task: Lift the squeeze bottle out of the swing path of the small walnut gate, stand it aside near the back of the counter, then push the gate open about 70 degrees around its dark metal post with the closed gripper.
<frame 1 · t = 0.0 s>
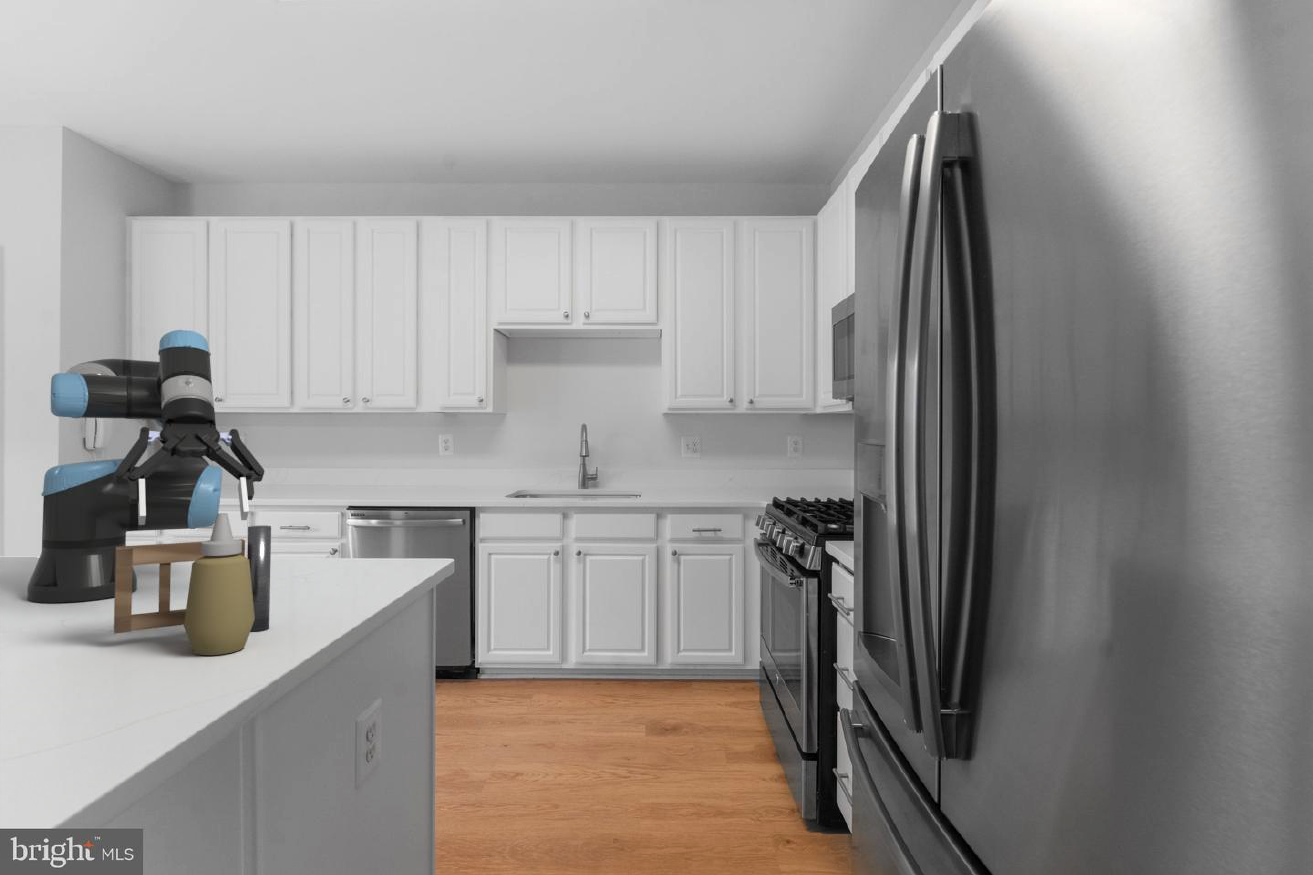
hand: (195, 518, 115), 15 cm above the counter, tool tilted 35°, fingers open, 13 cm apart
squeeze bottle: (219, 651, 98), on the counter
gate: (181, 583, 103), point 8 cm above the counter, hinge at 0.0°
gate post: (257, 629, 109), on the counter
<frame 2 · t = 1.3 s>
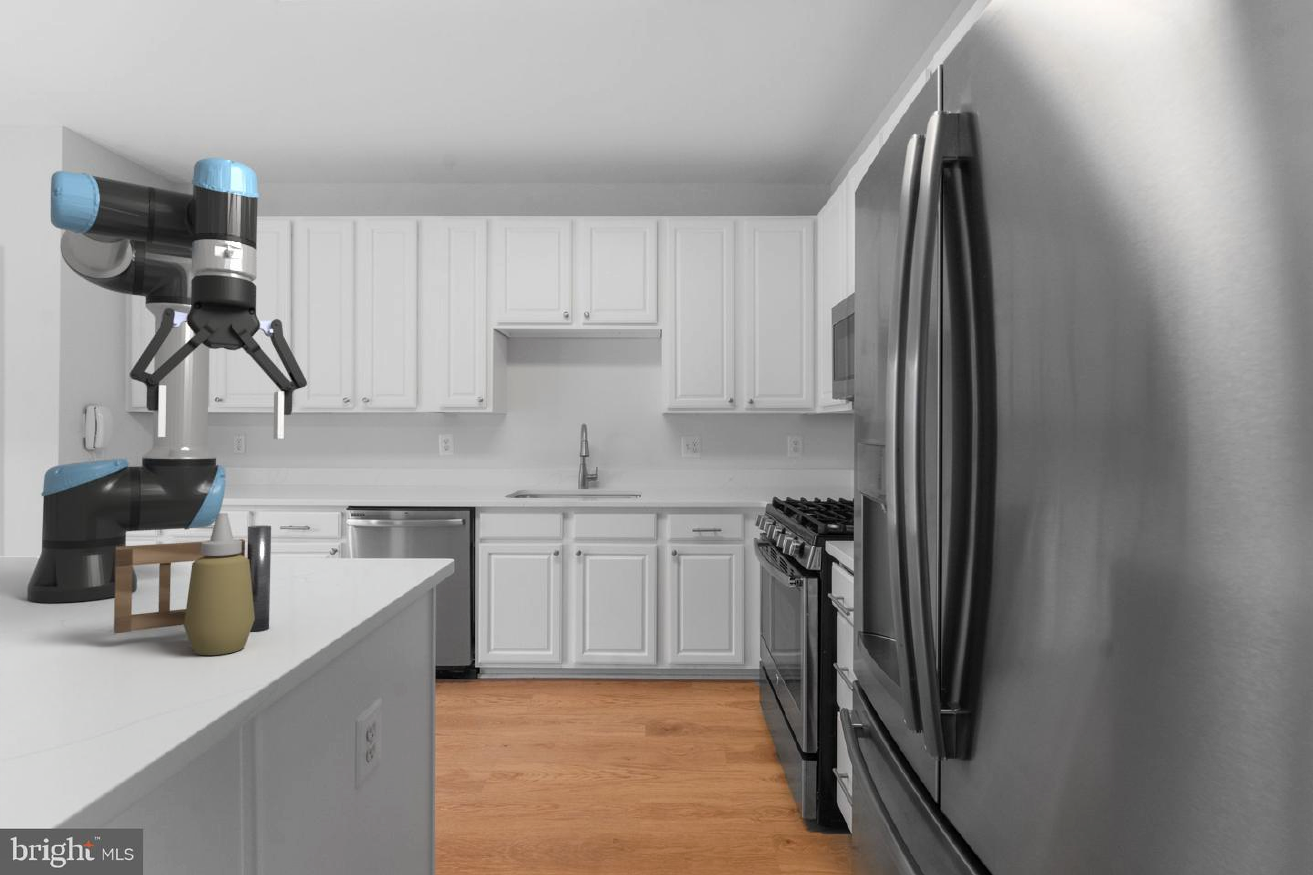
hand: (222, 438, 99), 28 cm above the counter, tool pointing down, fingers open, 13 cm apart
nothing on the counter moved.
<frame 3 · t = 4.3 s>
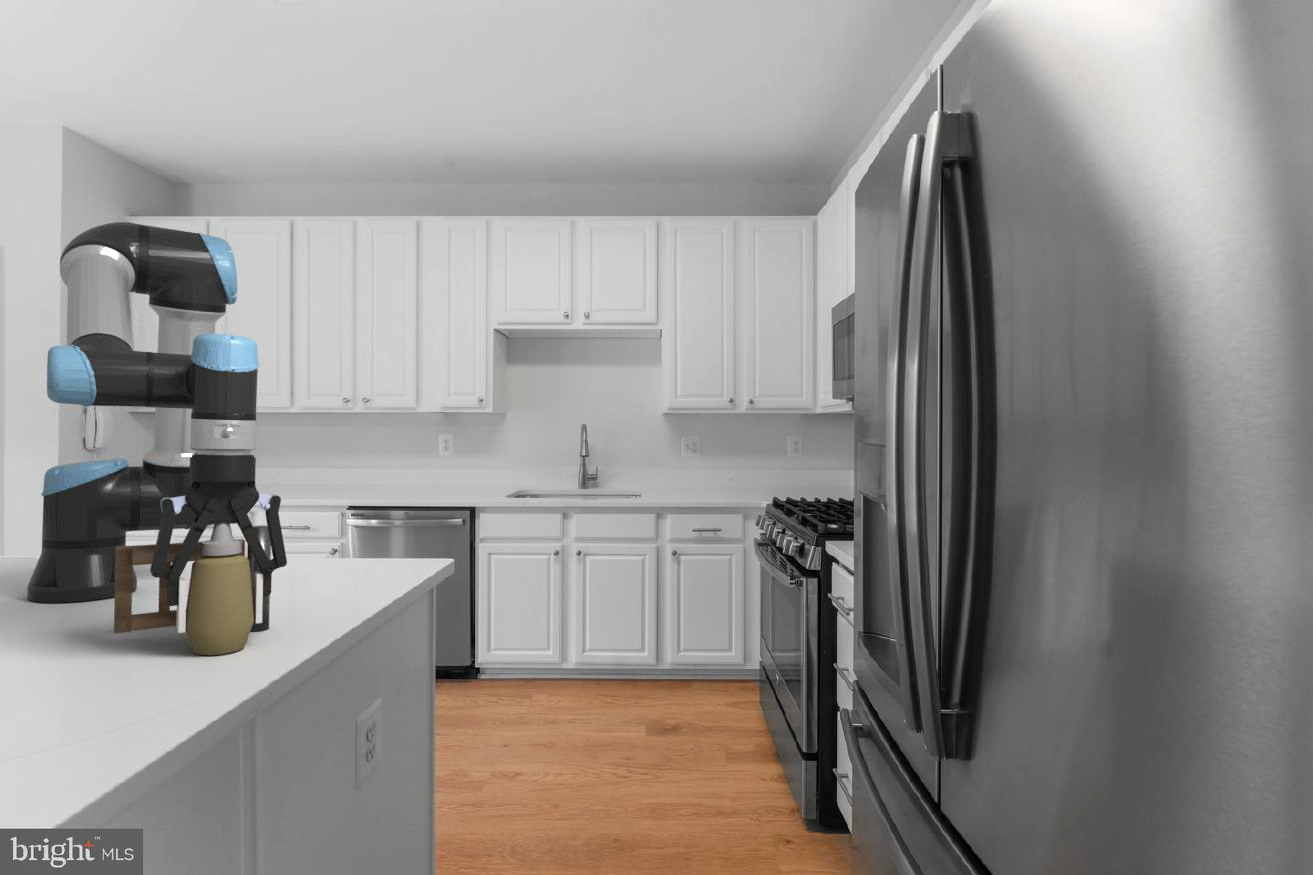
hand: (219, 625, 98), 3 cm above the counter, tool pointing down, fingers closed on squeeze bottle, 8 cm apart
squeeze bottle: (219, 651, 98), on the counter, touching gripper
everything else where it was.
when the fingers open (5 cm above the counter, at t = 12.2 s): squeeze bottle drops 1 cm, on the counter.
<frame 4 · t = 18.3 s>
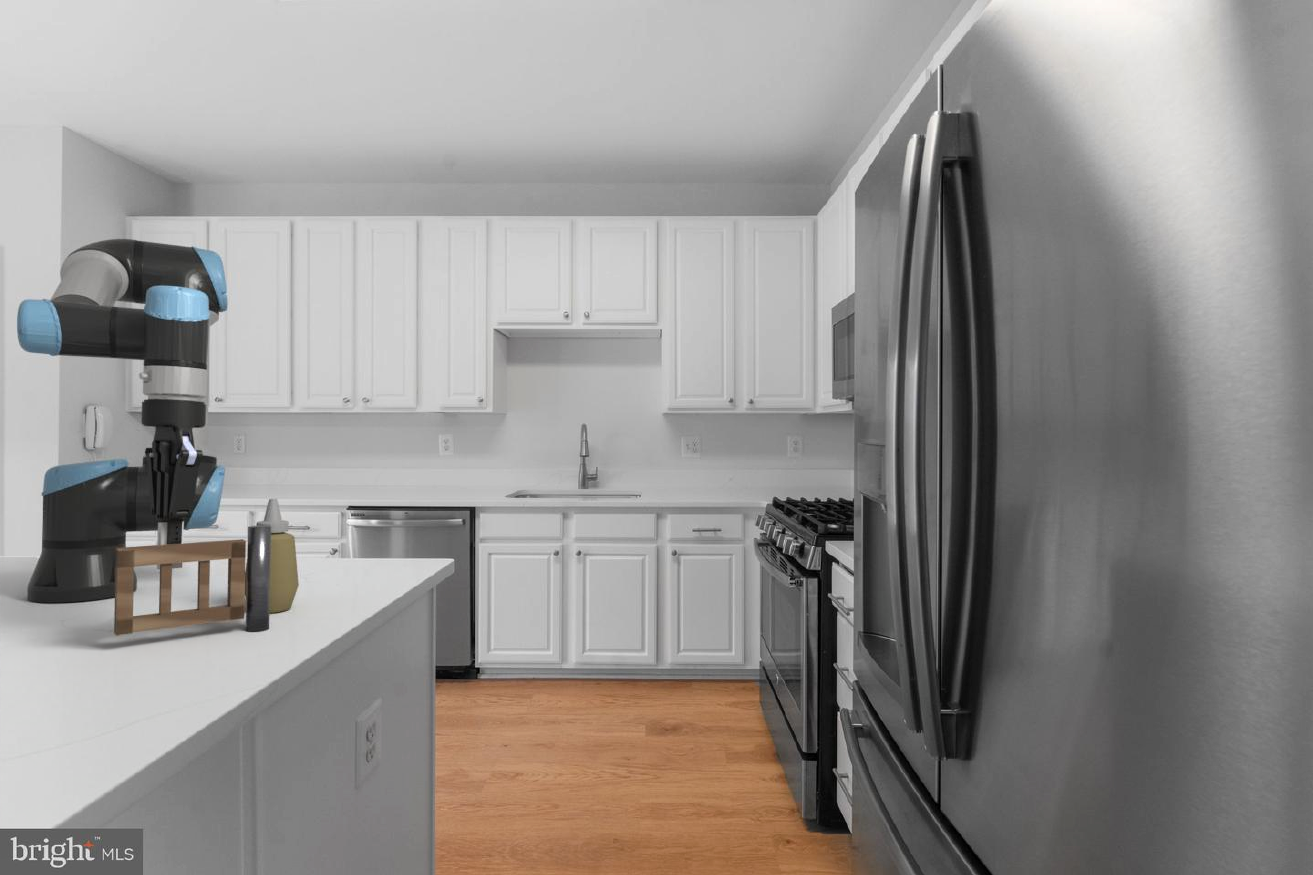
hand: (169, 568, 104), 10 cm above the counter, tool pointing down, fingers closed
squeeze bottle: (270, 611, 121), on the counter
gate: (182, 584, 102), point 8 cm above the counter, hinge at 4.3°, touching gripper
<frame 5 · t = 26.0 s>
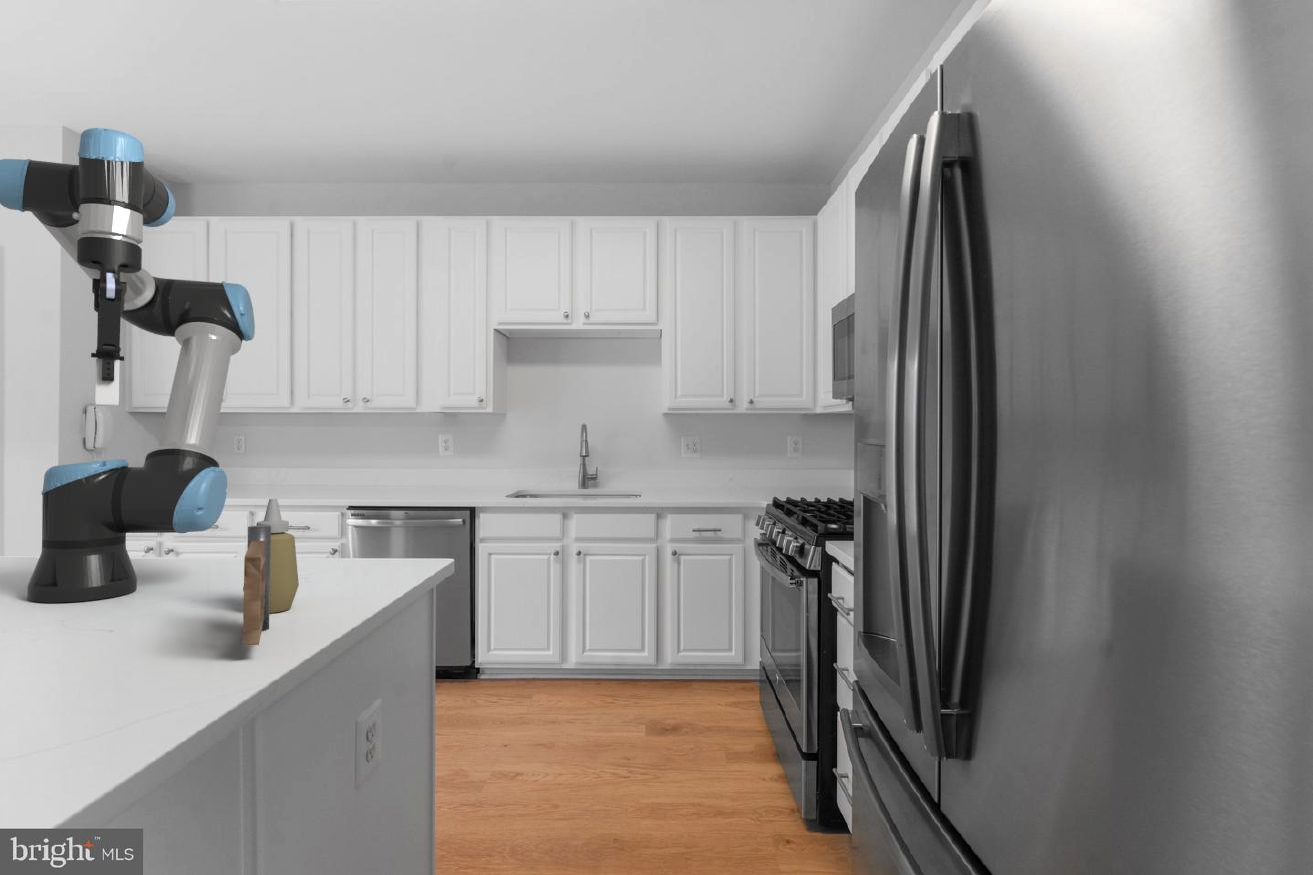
hand: (106, 404, 107), 32 cm above the counter, tool pointing down, fingers closed
gate: (255, 589, 100), point 8 cm above the counter, hinge at 77.8°
everything else where it was.
at the end: gate at +78° (first picture: +0°); squeeze bottle inside the target area (0.0 cm from its centre), on the counter; squeeze bottle tilted 0° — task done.
